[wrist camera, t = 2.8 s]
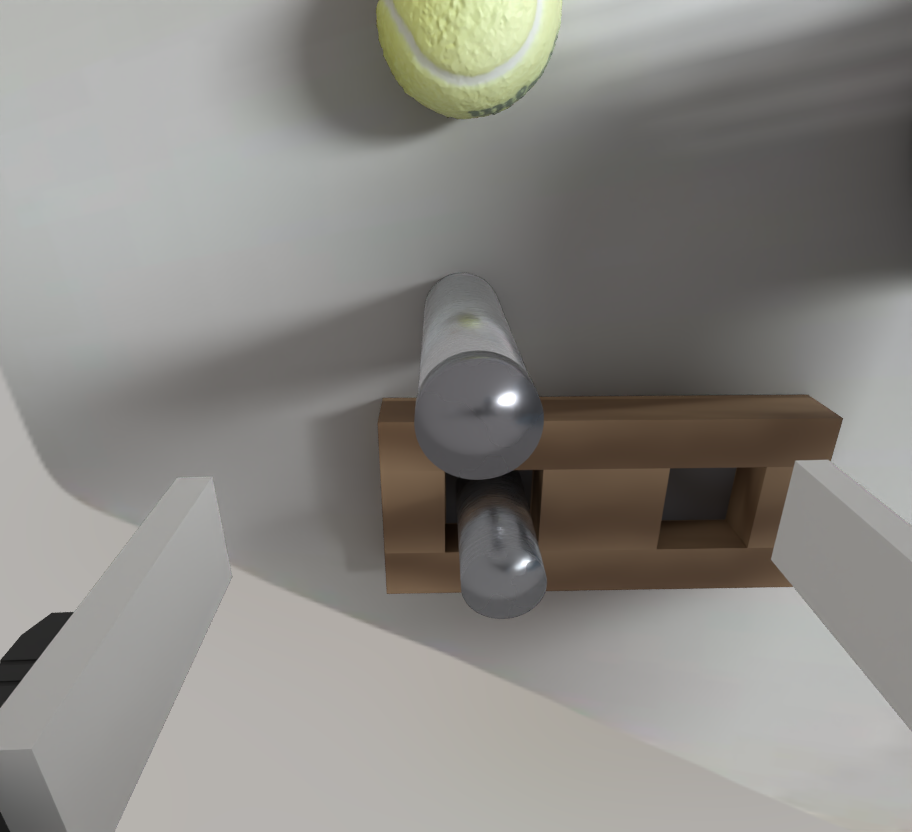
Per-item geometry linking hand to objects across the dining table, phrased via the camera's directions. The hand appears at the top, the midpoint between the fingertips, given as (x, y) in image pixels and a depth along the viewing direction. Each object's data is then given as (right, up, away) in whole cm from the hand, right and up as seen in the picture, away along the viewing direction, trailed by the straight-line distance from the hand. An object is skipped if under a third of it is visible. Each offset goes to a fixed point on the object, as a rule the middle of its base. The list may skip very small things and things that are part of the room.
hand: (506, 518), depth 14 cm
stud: (-1, +7, +15) cm, 17 cm away
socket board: (+6, -1, +19) cm, 20 cm away
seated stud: (+1, -1, +19) cm, 19 cm away
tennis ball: (-1, +18, +11) cm, 21 cm away
